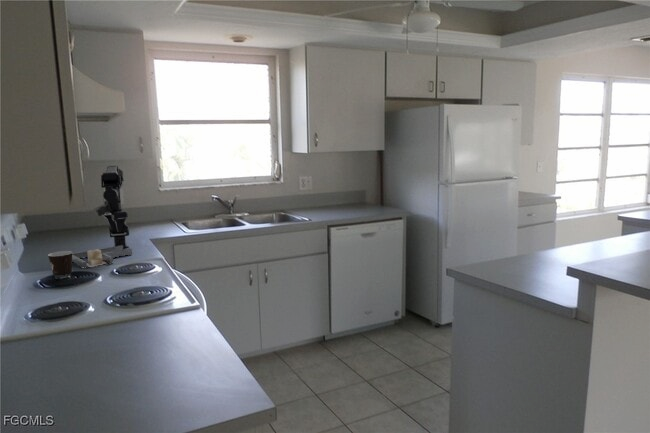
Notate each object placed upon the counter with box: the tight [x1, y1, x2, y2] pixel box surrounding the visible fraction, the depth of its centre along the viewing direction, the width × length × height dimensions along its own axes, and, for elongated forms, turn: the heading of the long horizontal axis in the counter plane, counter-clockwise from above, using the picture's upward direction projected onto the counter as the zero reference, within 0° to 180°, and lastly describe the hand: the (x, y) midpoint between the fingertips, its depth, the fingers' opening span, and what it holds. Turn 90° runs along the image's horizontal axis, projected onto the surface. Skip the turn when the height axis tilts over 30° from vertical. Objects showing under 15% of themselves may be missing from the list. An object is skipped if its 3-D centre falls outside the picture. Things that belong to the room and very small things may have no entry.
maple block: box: [86, 248, 103, 265], centre depth 212 cm, size 4×4×6 cm
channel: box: [72, 245, 133, 268], centre depth 222 cm, size 22×25×3 cm
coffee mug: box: [47, 250, 73, 275], centre depth 192 cm, size 12×9×10 cm
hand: (115, 230), depth 226 cm, fingers open, 9 cm apart
